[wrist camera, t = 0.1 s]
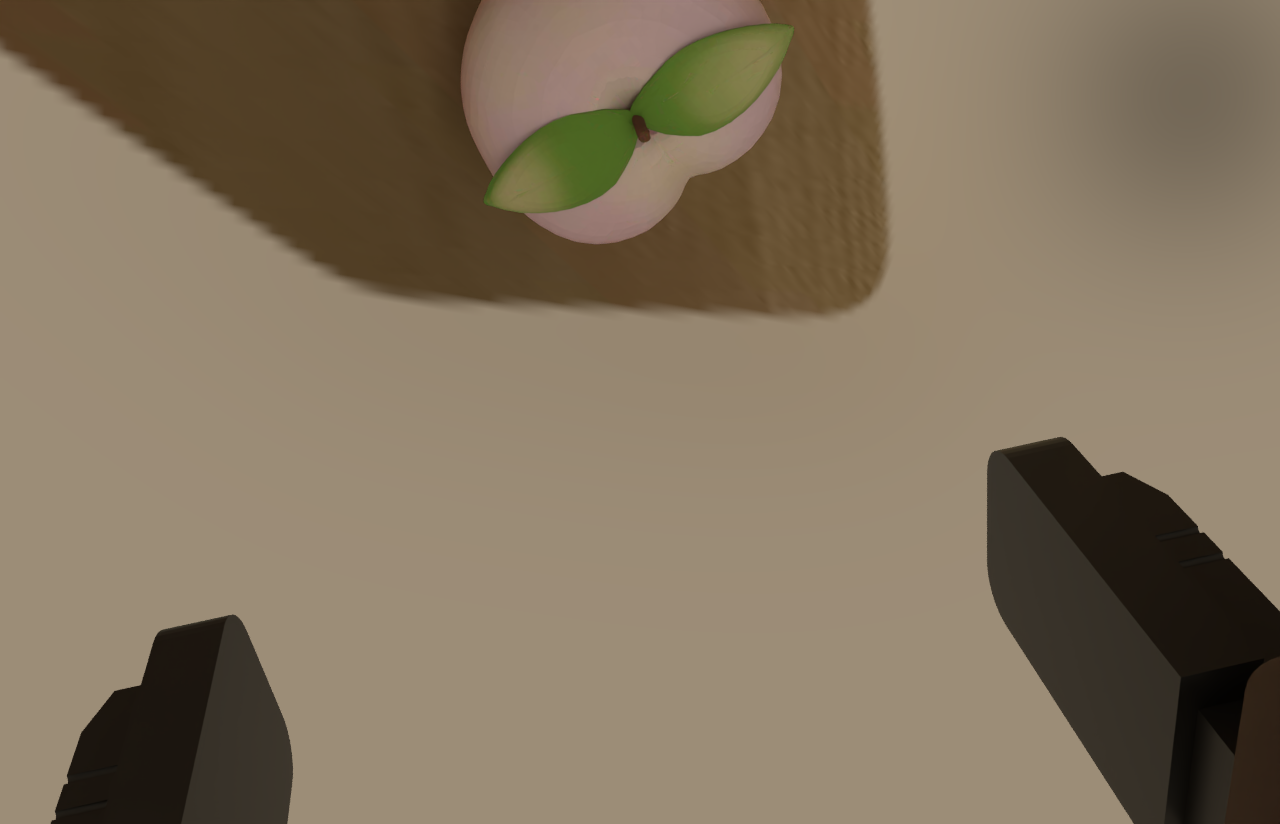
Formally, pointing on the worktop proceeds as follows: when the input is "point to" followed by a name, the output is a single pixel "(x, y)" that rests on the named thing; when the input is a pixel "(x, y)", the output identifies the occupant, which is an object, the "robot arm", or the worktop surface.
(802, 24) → the worktop surface
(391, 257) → the worktop surface
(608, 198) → the decorative fruit
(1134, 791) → the robot arm
